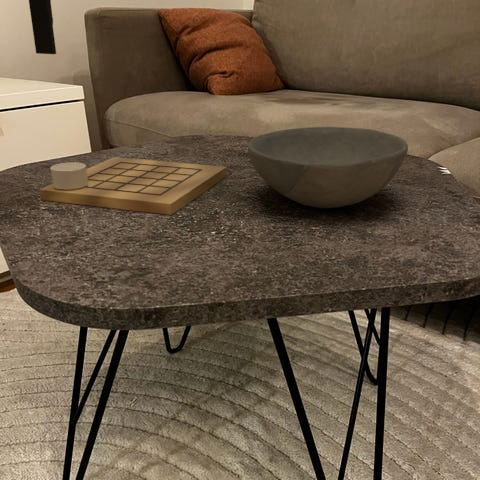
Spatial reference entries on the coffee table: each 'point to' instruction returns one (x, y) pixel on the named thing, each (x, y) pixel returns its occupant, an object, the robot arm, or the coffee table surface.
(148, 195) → the board
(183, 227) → the coffee table surface
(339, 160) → the bowl
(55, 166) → the stone
